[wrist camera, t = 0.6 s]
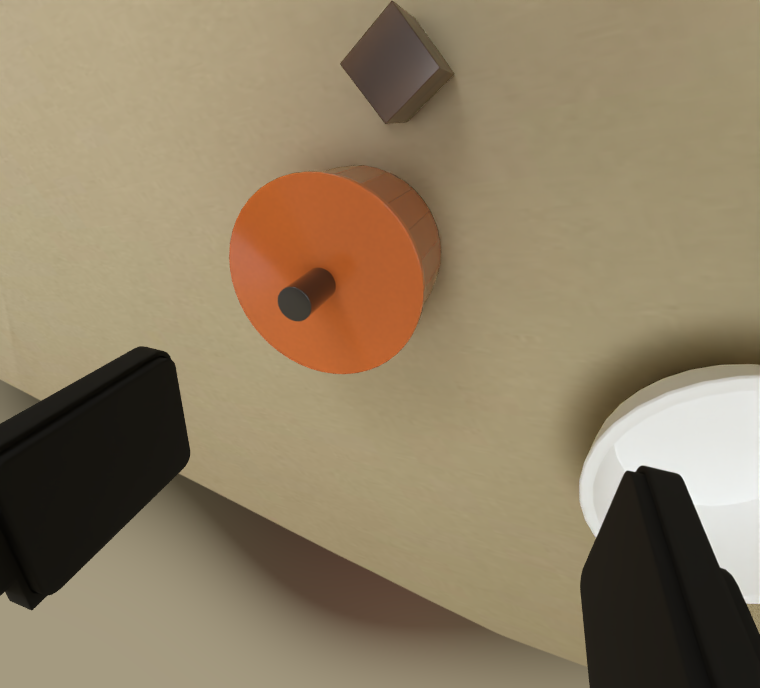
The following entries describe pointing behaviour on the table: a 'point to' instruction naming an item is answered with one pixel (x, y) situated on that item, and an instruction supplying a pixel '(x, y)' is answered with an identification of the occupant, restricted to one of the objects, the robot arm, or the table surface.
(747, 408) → the bowl
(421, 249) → the pan
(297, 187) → the pan lid
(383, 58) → the metal block
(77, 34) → the table surface
